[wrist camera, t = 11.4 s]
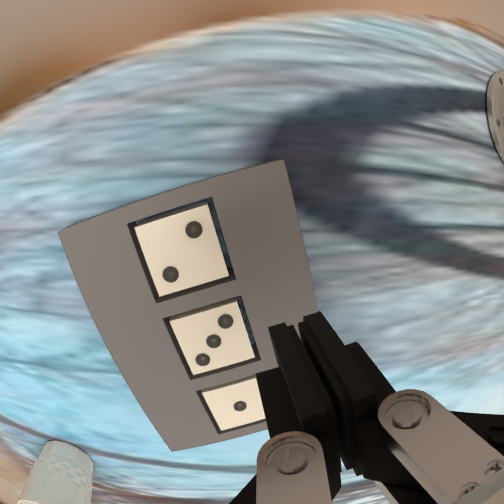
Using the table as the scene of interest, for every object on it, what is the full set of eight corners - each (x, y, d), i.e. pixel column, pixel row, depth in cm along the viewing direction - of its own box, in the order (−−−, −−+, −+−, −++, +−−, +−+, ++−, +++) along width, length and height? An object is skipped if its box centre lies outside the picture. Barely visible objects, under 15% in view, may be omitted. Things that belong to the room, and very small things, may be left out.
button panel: (274, 160, 22) (283, 159, 20) (325, 390, 29) (334, 405, 26) (70, 225, 21) (57, 232, 19) (172, 434, 27) (171, 451, 25)
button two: (206, 200, 22) (207, 204, 20) (226, 265, 24) (229, 276, 21) (140, 221, 22) (133, 228, 19) (162, 284, 23) (159, 297, 21)
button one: (256, 360, 26) (261, 377, 24) (269, 399, 28) (274, 416, 25) (201, 376, 26) (202, 394, 23) (218, 414, 27) (221, 431, 25)
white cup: (28, 434, 25) (3, 494, 16) (80, 437, 26) (61, 507, 17) (59, 473, 27) (44, 530, 18) (109, 476, 28) (100, 540, 19)
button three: (233, 289, 24) (237, 302, 22) (250, 342, 26) (255, 358, 23) (171, 308, 24) (169, 322, 21) (192, 358, 25) (193, 376, 23)
